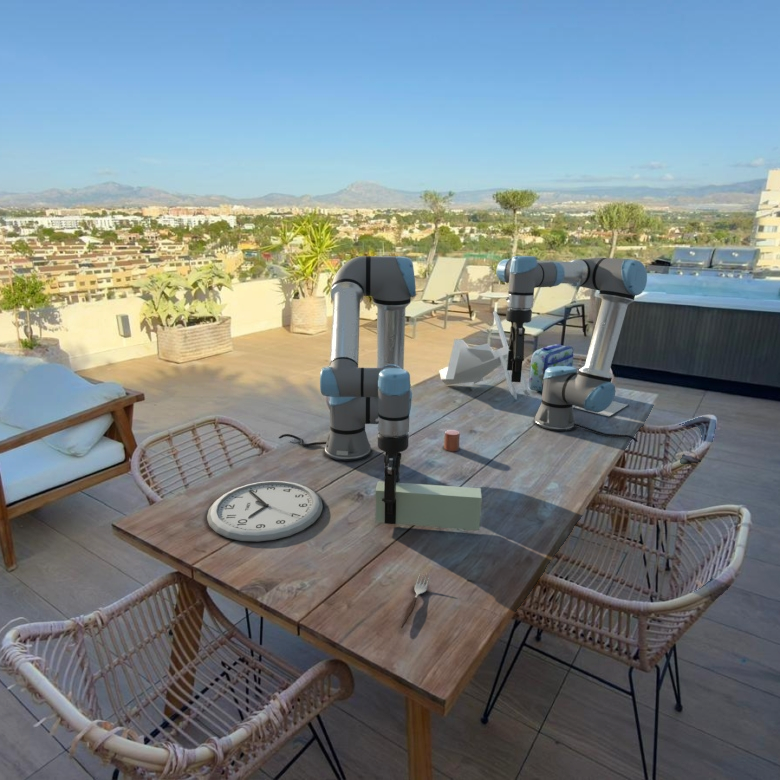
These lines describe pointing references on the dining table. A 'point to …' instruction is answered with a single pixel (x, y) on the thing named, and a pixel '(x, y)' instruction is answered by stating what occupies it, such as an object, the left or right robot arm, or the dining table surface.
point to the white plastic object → (479, 362)
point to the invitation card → (608, 409)
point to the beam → (432, 505)
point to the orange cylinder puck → (451, 440)
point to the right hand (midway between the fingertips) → (513, 375)
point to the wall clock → (264, 511)
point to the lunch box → (548, 363)
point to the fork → (419, 589)
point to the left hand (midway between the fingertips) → (391, 516)
